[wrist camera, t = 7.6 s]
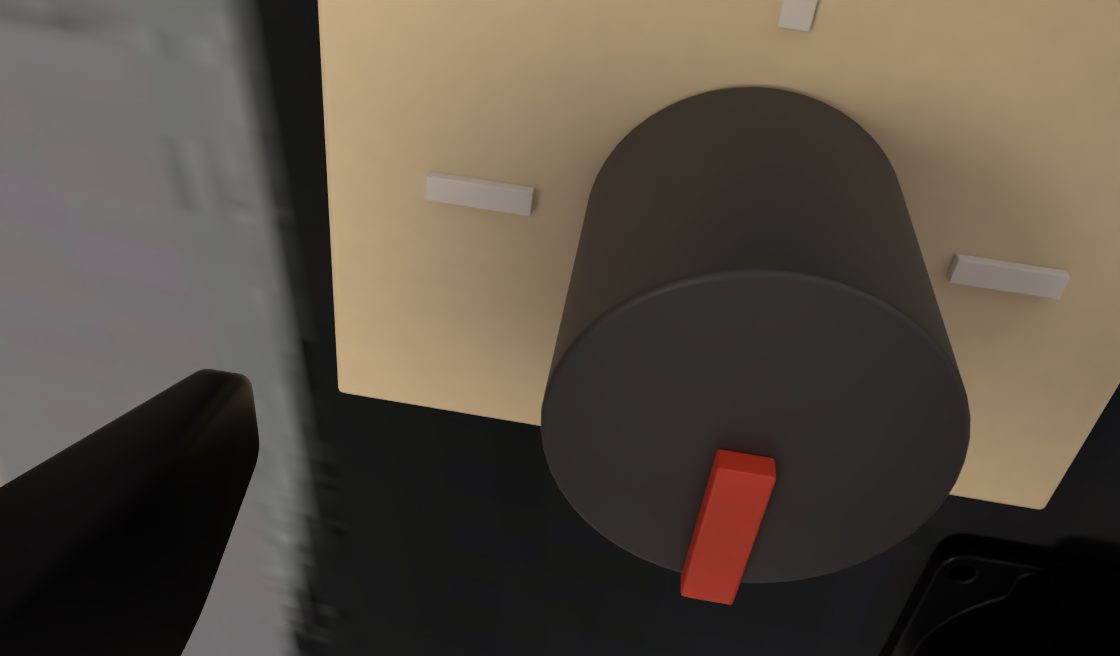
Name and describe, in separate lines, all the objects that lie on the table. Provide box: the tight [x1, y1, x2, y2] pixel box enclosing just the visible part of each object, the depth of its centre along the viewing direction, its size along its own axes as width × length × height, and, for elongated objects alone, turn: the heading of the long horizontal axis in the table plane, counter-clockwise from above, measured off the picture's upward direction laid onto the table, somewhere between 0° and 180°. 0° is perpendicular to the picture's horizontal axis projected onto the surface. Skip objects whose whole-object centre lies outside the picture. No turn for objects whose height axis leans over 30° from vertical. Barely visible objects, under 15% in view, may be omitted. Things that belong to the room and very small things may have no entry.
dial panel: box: [318, 0, 1120, 509], centre depth 13 cm, size 11×8×3 cm
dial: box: [541, 87, 971, 605], centre depth 11 cm, size 4×4×4 cm
